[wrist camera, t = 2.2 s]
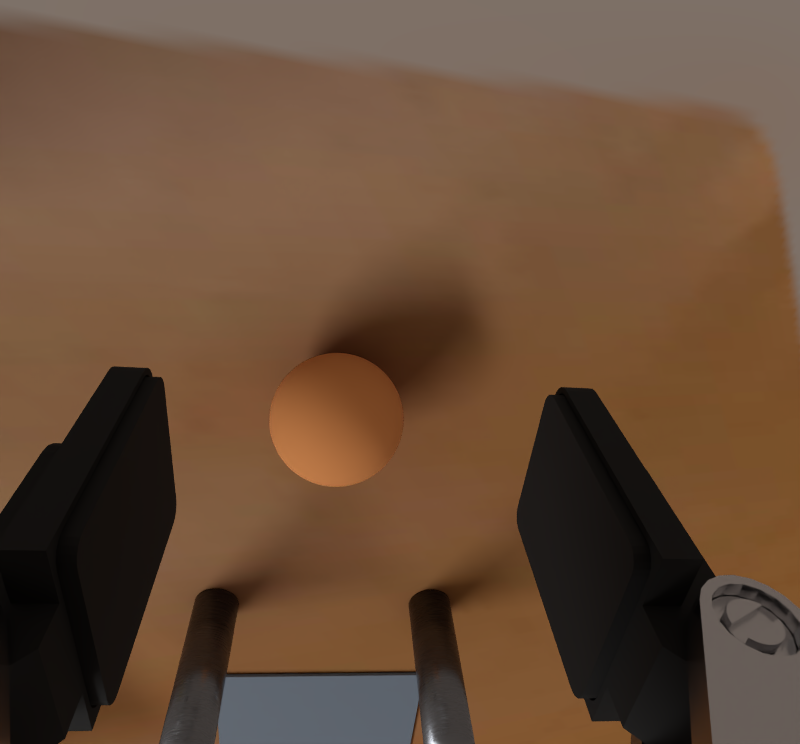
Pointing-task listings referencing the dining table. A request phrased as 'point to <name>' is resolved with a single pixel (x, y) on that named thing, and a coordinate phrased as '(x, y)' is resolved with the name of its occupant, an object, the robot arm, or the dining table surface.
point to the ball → (336, 419)
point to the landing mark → (318, 708)
